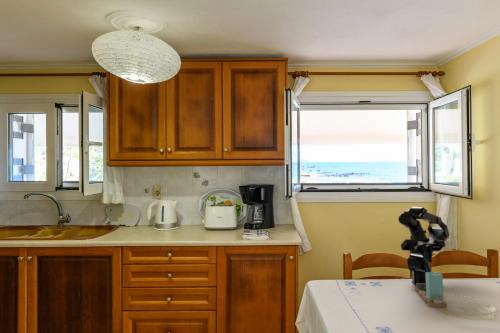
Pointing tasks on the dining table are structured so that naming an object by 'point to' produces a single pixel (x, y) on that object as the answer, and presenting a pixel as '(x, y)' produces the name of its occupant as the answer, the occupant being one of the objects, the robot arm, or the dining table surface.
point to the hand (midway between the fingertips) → (430, 262)
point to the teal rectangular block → (434, 285)
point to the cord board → (421, 292)
